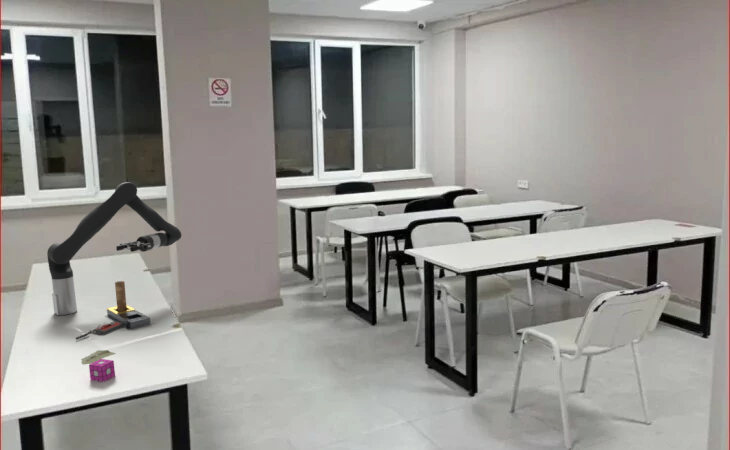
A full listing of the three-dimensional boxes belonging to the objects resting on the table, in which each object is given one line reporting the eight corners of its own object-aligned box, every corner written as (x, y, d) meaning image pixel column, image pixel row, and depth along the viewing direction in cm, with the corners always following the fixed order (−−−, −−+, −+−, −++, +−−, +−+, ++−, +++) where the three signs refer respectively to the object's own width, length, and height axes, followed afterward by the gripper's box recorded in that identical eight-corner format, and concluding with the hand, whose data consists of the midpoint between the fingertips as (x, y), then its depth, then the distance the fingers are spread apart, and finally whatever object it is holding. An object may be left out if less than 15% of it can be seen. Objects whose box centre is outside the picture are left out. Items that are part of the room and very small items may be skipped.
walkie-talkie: (111, 326, 271) (74, 341, 253) (110, 316, 270) (73, 331, 252) (126, 328, 267) (90, 344, 249) (125, 318, 267) (89, 333, 248)
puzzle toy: (90, 380, 212) (88, 364, 211) (102, 374, 218) (101, 358, 217) (103, 382, 210) (101, 366, 209) (115, 375, 216) (113, 360, 215)
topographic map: (71, 365, 227) (71, 361, 227) (98, 351, 240) (97, 347, 240) (100, 370, 223) (100, 366, 223) (126, 355, 236) (126, 351, 235)
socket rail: (128, 332, 261) (127, 322, 261) (105, 317, 282) (104, 308, 281) (153, 325, 268) (152, 316, 268) (128, 312, 289) (128, 303, 288)
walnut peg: (119, 318, 278) (116, 283, 275) (116, 316, 280) (113, 282, 278) (128, 316, 280) (125, 282, 277) (125, 314, 283) (122, 280, 280)
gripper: (136, 234, 303) (111, 240, 289) (159, 235, 298) (134, 242, 283) (138, 249, 305) (113, 256, 290) (160, 250, 299) (136, 257, 284)
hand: (123, 249), depth 287 cm, fingers open, 8 cm apart
